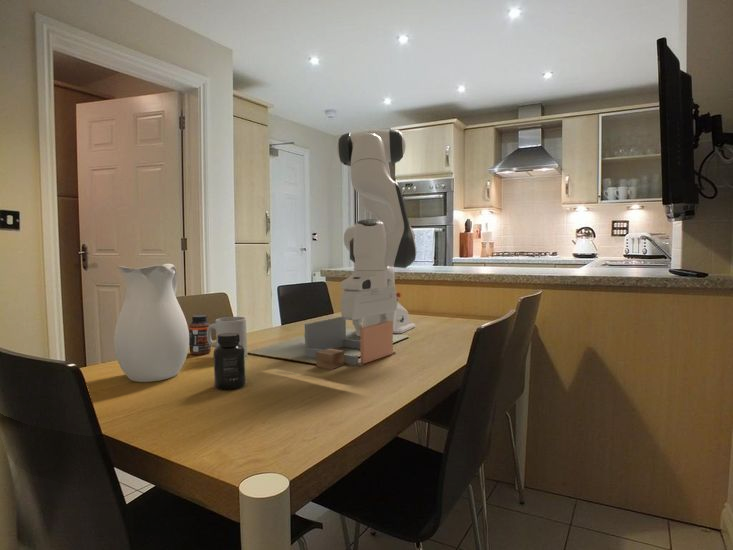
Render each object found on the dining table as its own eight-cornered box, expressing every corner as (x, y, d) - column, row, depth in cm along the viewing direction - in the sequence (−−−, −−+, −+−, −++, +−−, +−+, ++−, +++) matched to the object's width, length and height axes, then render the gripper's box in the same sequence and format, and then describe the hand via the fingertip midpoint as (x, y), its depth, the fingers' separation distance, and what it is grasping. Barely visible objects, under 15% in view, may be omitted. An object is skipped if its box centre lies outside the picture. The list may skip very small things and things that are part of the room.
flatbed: (305, 359, 132) (304, 324, 131) (343, 349, 144) (342, 316, 144) (360, 370, 120) (359, 331, 119) (396, 357, 132) (395, 322, 132)
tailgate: (360, 363, 121) (360, 328, 121) (389, 353, 132) (389, 320, 131) (363, 363, 121) (363, 328, 120) (392, 353, 131) (392, 321, 130)
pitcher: (173, 385, 109) (168, 265, 107) (101, 386, 110) (94, 266, 108) (209, 360, 133) (205, 260, 131) (150, 360, 134) (145, 261, 132)
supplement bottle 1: (198, 356, 138) (197, 317, 137) (185, 354, 141) (183, 316, 140) (215, 352, 143) (213, 314, 142) (202, 350, 146) (200, 313, 145)
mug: (252, 353, 140) (251, 316, 139) (238, 361, 132) (237, 321, 131) (215, 352, 143) (214, 316, 142) (199, 359, 134) (198, 320, 134)
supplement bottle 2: (251, 383, 111) (250, 332, 110) (234, 392, 104) (232, 338, 103) (227, 380, 113) (225, 330, 112) (208, 389, 106) (206, 336, 106)
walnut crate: (329, 367, 124) (329, 348, 124) (344, 370, 121) (344, 350, 121) (316, 371, 120) (316, 352, 120) (331, 374, 117) (331, 354, 117)
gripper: (383, 277, 136) (384, 325, 137) (336, 283, 120) (337, 337, 121) (402, 278, 132) (402, 327, 133) (355, 284, 116) (356, 340, 117)
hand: (371, 332), depth 127 cm, fingers open, 8 cm apart
